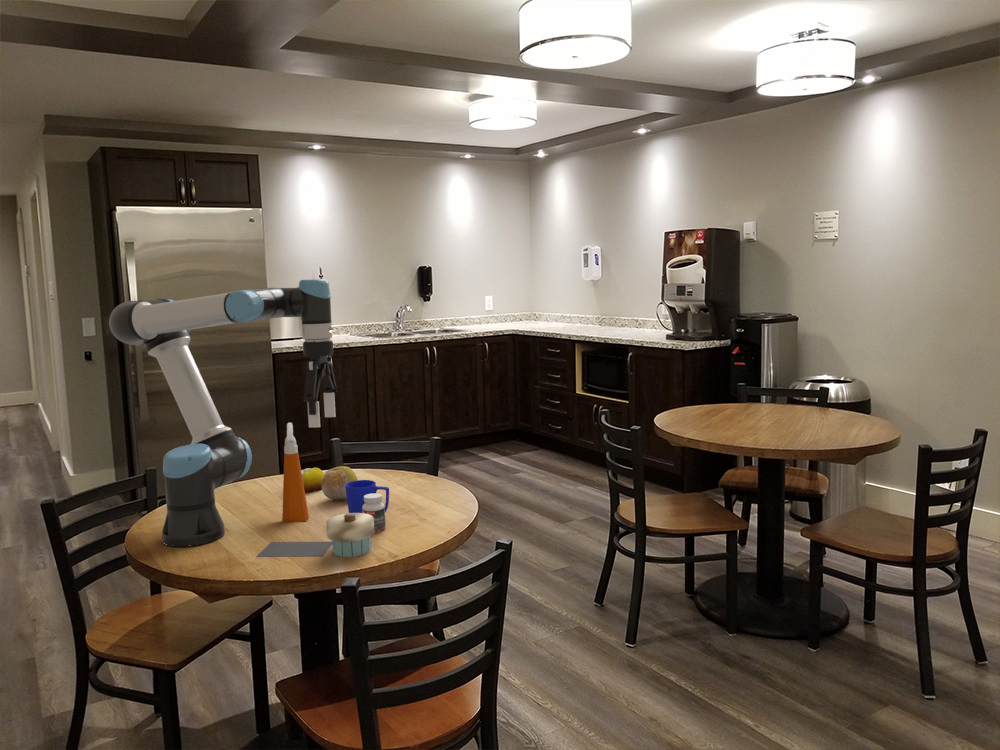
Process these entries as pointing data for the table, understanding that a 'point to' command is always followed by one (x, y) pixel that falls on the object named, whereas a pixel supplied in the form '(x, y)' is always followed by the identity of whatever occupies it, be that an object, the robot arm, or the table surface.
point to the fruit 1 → (312, 479)
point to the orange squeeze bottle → (293, 482)
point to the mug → (362, 494)
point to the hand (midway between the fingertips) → (322, 422)
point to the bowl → (352, 547)
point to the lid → (350, 527)
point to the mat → (295, 549)
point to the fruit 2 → (337, 482)
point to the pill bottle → (375, 510)
